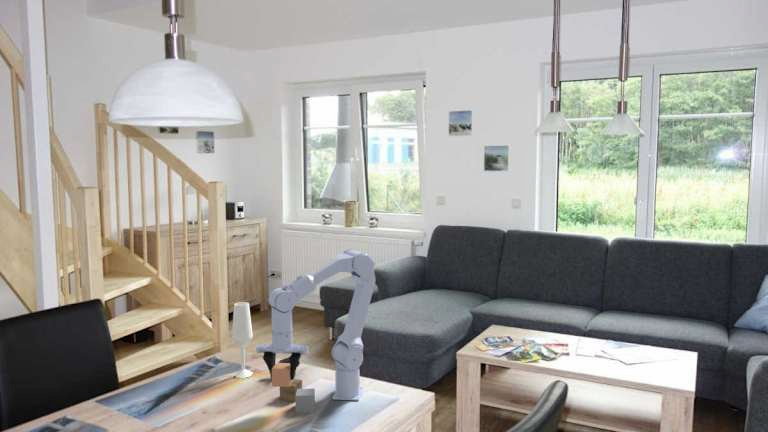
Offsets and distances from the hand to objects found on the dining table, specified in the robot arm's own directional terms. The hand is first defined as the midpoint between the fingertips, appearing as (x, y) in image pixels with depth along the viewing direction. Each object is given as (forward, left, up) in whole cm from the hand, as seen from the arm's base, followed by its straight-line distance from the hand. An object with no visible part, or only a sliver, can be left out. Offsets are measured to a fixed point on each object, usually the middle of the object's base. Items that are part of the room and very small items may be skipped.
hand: (283, 378), depth 168 cm
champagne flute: (-25, -21, -10) cm, 34 cm away
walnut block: (-8, 0, -10) cm, 13 cm away
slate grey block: (-1, +6, -10) cm, 11 cm away
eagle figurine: (-25, -7, -10) cm, 27 cm away
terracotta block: (0, 0, -2) cm, 2 cm away
